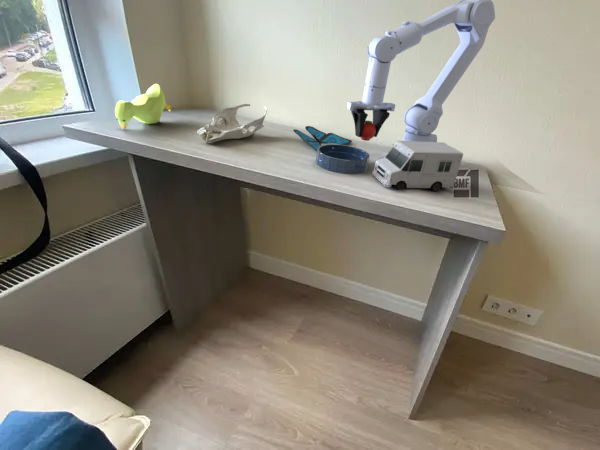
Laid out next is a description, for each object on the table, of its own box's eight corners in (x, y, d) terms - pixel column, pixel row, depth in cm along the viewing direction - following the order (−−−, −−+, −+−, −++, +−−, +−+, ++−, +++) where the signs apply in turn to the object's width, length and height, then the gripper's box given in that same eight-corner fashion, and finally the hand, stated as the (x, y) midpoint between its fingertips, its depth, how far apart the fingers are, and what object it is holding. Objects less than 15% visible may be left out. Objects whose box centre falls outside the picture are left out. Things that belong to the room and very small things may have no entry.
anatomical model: (275, 108, 119) (225, 116, 99) (273, 136, 123) (224, 149, 103) (238, 100, 125) (184, 106, 105) (238, 127, 129) (185, 138, 109)
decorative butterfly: (314, 130, 128) (315, 122, 127) (350, 143, 122) (352, 135, 121) (280, 144, 113) (281, 135, 112) (319, 160, 108) (321, 151, 106)
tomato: (373, 138, 108) (377, 120, 106) (374, 142, 104) (378, 124, 101) (356, 136, 109) (359, 118, 106) (356, 140, 104) (360, 122, 102)
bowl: (365, 161, 107) (368, 148, 106) (367, 178, 95) (370, 163, 93) (317, 155, 108) (319, 141, 106) (313, 171, 96) (315, 156, 94)
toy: (154, 136, 128) (107, 125, 109) (162, 87, 126) (116, 68, 107) (168, 139, 127) (124, 129, 108) (177, 90, 124) (133, 71, 105)
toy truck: (368, 171, 100) (375, 135, 95) (439, 178, 101) (450, 142, 96) (376, 190, 88) (385, 150, 84) (457, 198, 89) (471, 158, 84)
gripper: (359, 87, 93) (350, 140, 100) (405, 90, 99) (394, 139, 105) (346, 83, 99) (338, 133, 105) (390, 85, 105) (380, 132, 111)
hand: (365, 136), depth 106 cm, fingers closed on tomato, 5 cm apart
